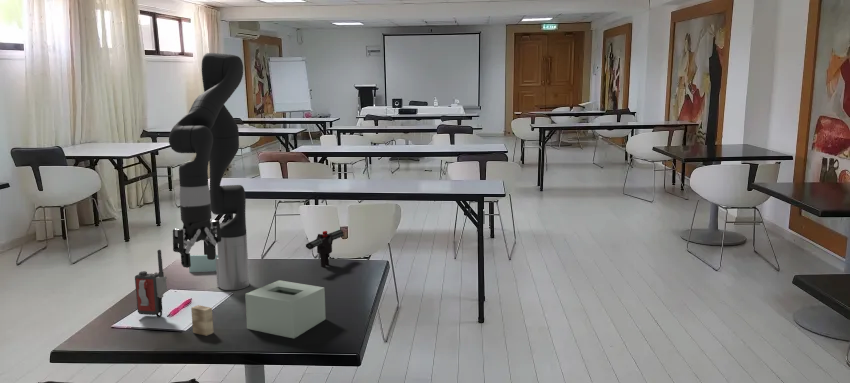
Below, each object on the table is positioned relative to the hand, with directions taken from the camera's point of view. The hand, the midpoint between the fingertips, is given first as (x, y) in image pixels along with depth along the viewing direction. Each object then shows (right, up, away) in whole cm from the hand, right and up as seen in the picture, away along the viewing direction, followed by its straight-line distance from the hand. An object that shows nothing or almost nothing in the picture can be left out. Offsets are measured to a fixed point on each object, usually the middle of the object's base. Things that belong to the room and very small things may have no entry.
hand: (199, 263), depth 167 cm
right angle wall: (-18, -10, +62) cm, 65 cm away
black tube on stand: (+24, -10, +60) cm, 65 cm away
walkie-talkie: (-19, -18, +15) cm, 29 cm away
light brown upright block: (0, -19, +3) cm, 19 cm away
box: (+21, -18, +8) cm, 29 cm away
